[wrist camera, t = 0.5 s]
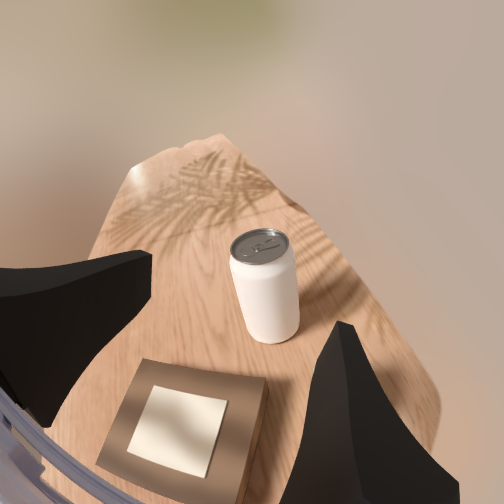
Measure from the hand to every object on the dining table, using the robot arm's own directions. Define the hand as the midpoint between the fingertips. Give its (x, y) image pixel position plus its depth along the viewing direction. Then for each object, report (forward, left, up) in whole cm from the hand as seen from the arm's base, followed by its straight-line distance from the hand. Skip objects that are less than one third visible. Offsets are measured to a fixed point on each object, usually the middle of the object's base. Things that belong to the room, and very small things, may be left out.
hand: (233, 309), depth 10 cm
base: (-1, +9, -20) cm, 22 cm away
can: (+15, +3, -20) cm, 25 cm away
